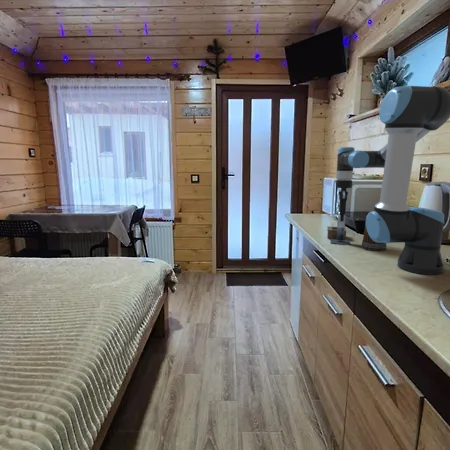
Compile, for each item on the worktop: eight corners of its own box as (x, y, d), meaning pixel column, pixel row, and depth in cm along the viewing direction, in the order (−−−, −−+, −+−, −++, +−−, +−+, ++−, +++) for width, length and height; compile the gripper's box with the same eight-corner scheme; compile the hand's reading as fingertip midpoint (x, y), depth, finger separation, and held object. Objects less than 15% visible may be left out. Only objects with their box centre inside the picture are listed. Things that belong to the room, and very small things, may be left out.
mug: (388, 251, 146) (392, 219, 143) (364, 250, 148) (366, 218, 145) (379, 243, 161) (382, 213, 158) (357, 242, 163) (359, 213, 160)
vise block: (345, 240, 168) (346, 230, 167) (326, 238, 170) (327, 229, 169) (344, 236, 176) (345, 227, 175) (326, 235, 179) (327, 226, 178)
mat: (350, 244, 158) (350, 244, 158) (330, 243, 160) (330, 242, 160) (348, 240, 166) (348, 239, 166) (330, 239, 169) (330, 238, 169)
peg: (344, 240, 161) (346, 213, 158) (336, 240, 162) (338, 212, 159) (343, 239, 164) (345, 211, 162) (336, 238, 165) (338, 211, 163)
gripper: (353, 180, 148) (350, 230, 153) (351, 178, 164) (347, 224, 169) (336, 180, 151) (333, 229, 155) (335, 178, 166) (332, 223, 171)
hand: (341, 226), depth 162 cm, fingers closed on peg, 4 cm apart
